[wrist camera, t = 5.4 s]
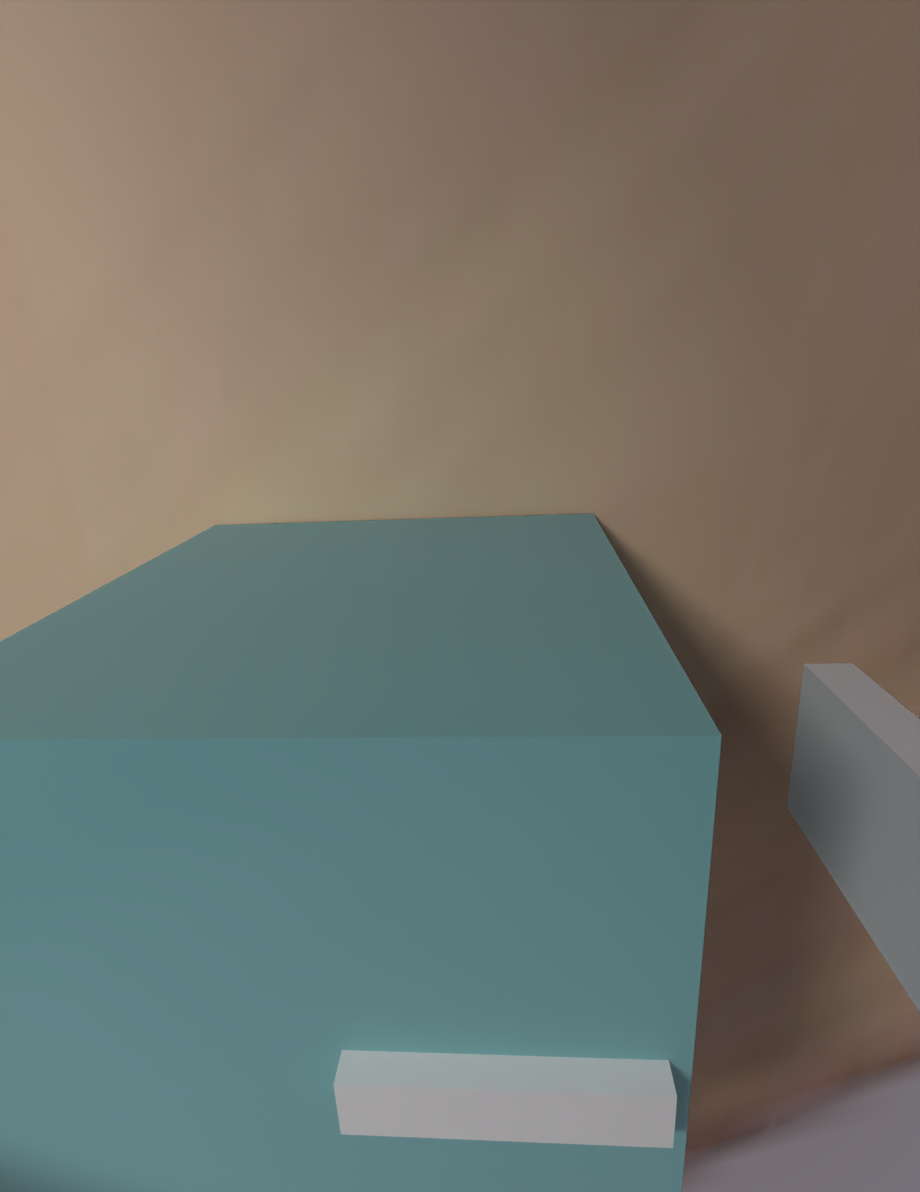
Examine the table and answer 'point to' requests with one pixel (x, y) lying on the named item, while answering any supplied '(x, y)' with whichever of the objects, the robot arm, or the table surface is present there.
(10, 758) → the teal drawer cabinet
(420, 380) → the table surface
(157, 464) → the table surface
